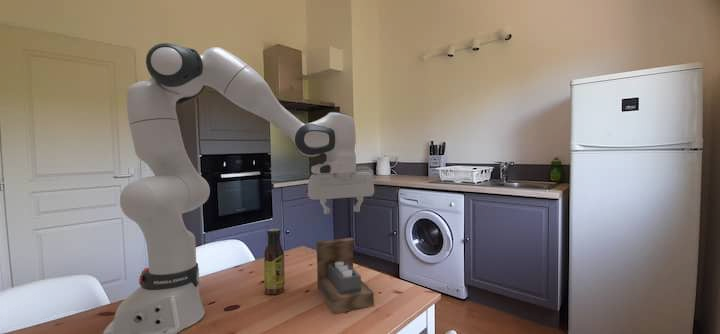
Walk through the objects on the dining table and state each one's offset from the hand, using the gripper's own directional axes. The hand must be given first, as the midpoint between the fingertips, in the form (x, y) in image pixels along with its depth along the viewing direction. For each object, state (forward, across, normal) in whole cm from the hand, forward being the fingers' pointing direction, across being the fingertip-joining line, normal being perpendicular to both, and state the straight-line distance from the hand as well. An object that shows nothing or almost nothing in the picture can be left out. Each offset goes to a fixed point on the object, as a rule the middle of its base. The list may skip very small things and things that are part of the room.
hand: (342, 212), depth 98 cm
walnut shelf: (+26, 0, 0) cm, 26 cm away
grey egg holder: (+22, 0, 0) cm, 22 cm away
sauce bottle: (+26, +19, -13) cm, 35 cm away
